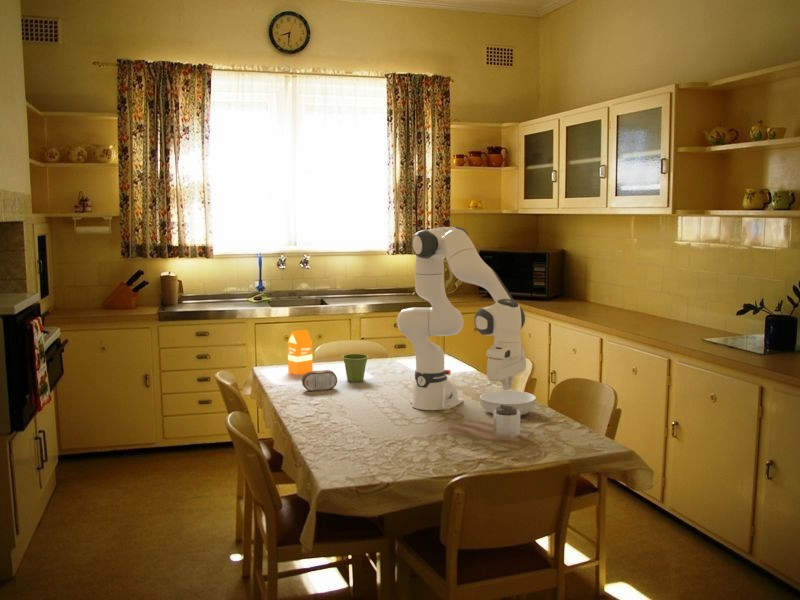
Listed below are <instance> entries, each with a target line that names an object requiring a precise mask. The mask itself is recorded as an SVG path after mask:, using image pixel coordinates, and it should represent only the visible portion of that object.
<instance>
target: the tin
mask: <svg viewBox="0 0 800 600" xmlns="http://www.w3.org/2000/svg"><path fill="white" fill-rule="evenodd" d="M301 379H302V380H301V384H302V386H303V388H305V390H307V391H309V392H320V390H322V391H330V389H331V390H332V389H334V388H335V387H336V386H337V384H338V377H337V375H336V374H335V372H334V371H332V370H330V369H328V370H326V369H325V370H313V371H310V372H307V373H304V374H303V376H302V378H301Z"/></svg>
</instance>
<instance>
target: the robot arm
mask: <svg viewBox="0 0 800 600" xmlns="http://www.w3.org/2000/svg"><path fill="white" fill-rule="evenodd" d="M411 247H412V251H413V253H414V255H415V263H414V278H415V280H414V283H415V284H414V285H415V286H414V287H415V288H414V289H415V292H416V294H417V295H418V296H419V298H421V299H423V300H425V301H427V302H428V303H430V306H431V307H420V306H418V307H415V306H413V307H408V308H404V309H401V311H400V312H399V313H398V315H397V317H396V325H397V328H398V330H399V331H400V333H401V334H402V335H404V336H405V337H407V339H408V340H409V341H410V343H411V345H412V347H413V350H414V353H415V354H414V356H415V371H414V380H415V382H413V389H412V399H411V400H410V403H411V407H413V408H415V409H417V410H422V411H442V410H444V411H447V410H449V409H451V408H454V407H457V406H458V405H461V403H463V402H464V398H462V397H461V396H458V387H456V385H455V384H454V383H452V381H450V380H449V379H448V376H450V375H451V373H452V370H450V369H445V352H444V350H443V347H440V346H439V345H438V344H435V343H433V342H432V341H431V340H430V338H429V337H435V336H436V337H448V336H449V337H450V336H454V335H459V333H460V332H461V331H462V330H463V328H464V323H465V321H464V317H463V314H462V313H461V312H460V310H459V309H457V308H456V307H455V306H454V305H453V304H452V303H451V302H450V300H449V298H448V296H447V294H446V287H445V275H444V274H445V267H444V260H445V259H446V262H447V264H448V266H449V269H450V271H451V272H452V274H453V275H454V277H455V278H456V279H458V280H459V281H461V282H464V283H467V284H472V285H475V286H479V287H481V288H483V289H485V290H486V291H487V292H488V293H489V294H490V296H491V297H492V299H493V301H494V303H493V304H491V305H489V306H485V307H481V308H479V309H478V310H477V312H476V313H475V316H474V326H475V329H476V331H477V332H478V333H479V334H480V335H483V336H494V340H493V343H492V345H491V346H490V347H489V348H488V349H487V350H486V357H487V358H488V359H487V360H486V361H487V362H486V374H487V375H486V376H487V380H488V381H490V382H495V383H498V382H501V384H502V390H510V389H512V387H513V386H512V385H513V383H514V382H513V381H514V378H515V375H517V374H519V373H523V372H525V370H526V369H527V358H526V352H525V350H524V347H523V345H522V336H521V330H522V329H523V328H524V326H525V323H526V315H525V312H524V310H523V309H522V306H521V305H520V303H519V302H517V300H515V299H514V298H513V296H512V295H511V293H510V291H509V290H508V289H507V287H506V286H505V284H504V283H503V281H502V280H501V278H500V277H499V275H498V274H497V272H496V271H495V270H494V269H493V268H492V267H491V266H489V265H488V264H487V263H486V262H485V261H484V260H483V259H482V257H481V256H480V255H479V252H478V250H477V248H476V247H475V245H474V243H473V242H472V240H471V239H470V237H469V234H468V232H467V230H466V229H465V228H463V227H461V226H453V227H451V226H441V227H437V228H430V229H421V230H419V231H417V232H415V234H414V235H413V237H412V240H411ZM447 375H448V376H447Z"/></svg>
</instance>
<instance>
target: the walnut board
mask: <svg viewBox="0 0 800 600" xmlns="http://www.w3.org/2000/svg"><path fill="white" fill-rule="evenodd" d="M444 431H446V432H449V433H450V432H451V433H455V434H459V435H464V436H469V437H473V438H478V439H483V440H487V441H492V442H496V443H501V444H505V445H513V444H514V443H516V442H518V441H521V440H522V439H524V438H526V437H528V436H530V435H532V434H534V432H533V431H528V430H525V429H520V437H518V438H515V439H501V438H496V437H495V436H493V423H489V422H485V421H480V420H475V419H467V420H465V421H462V422H459V423H457V424H455V425H452V426H451V427H448V428H446V429H444Z"/></svg>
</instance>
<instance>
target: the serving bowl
mask: <svg viewBox="0 0 800 600" xmlns="http://www.w3.org/2000/svg"><path fill="white" fill-rule="evenodd" d="M536 400H537V397H536V395H535V394H532V393H529V392H528V391H527V392H526V391H520V390H510V389H508V390H503V389H502V390H494V391H493V390H492V391H487V392H484V393H482V394H480V395H479V401H480V404H481V407H482V408H483V410H485V411H486V412H487V413H489V414H492V415H493V410H495V409H496V408H497V407H500V405H501V404H504V405H510V406H513V407H515V408H517V410H519V411H520V416H524V415H527V414H528V413H530V412H531V411H532V410H533V409H534V408H535V405H536Z"/></svg>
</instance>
